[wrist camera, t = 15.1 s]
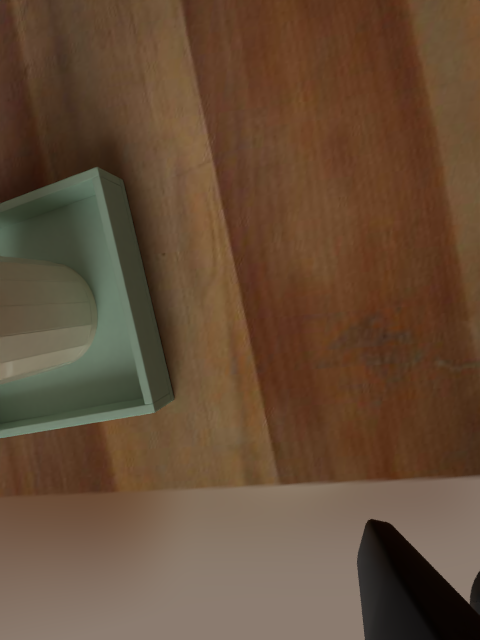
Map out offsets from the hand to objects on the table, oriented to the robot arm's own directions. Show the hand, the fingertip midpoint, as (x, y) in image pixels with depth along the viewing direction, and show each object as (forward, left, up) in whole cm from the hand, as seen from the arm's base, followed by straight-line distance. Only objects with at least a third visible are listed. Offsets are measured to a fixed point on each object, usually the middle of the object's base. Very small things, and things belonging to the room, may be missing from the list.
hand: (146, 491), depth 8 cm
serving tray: (+6, +12, -13) cm, 19 cm away
